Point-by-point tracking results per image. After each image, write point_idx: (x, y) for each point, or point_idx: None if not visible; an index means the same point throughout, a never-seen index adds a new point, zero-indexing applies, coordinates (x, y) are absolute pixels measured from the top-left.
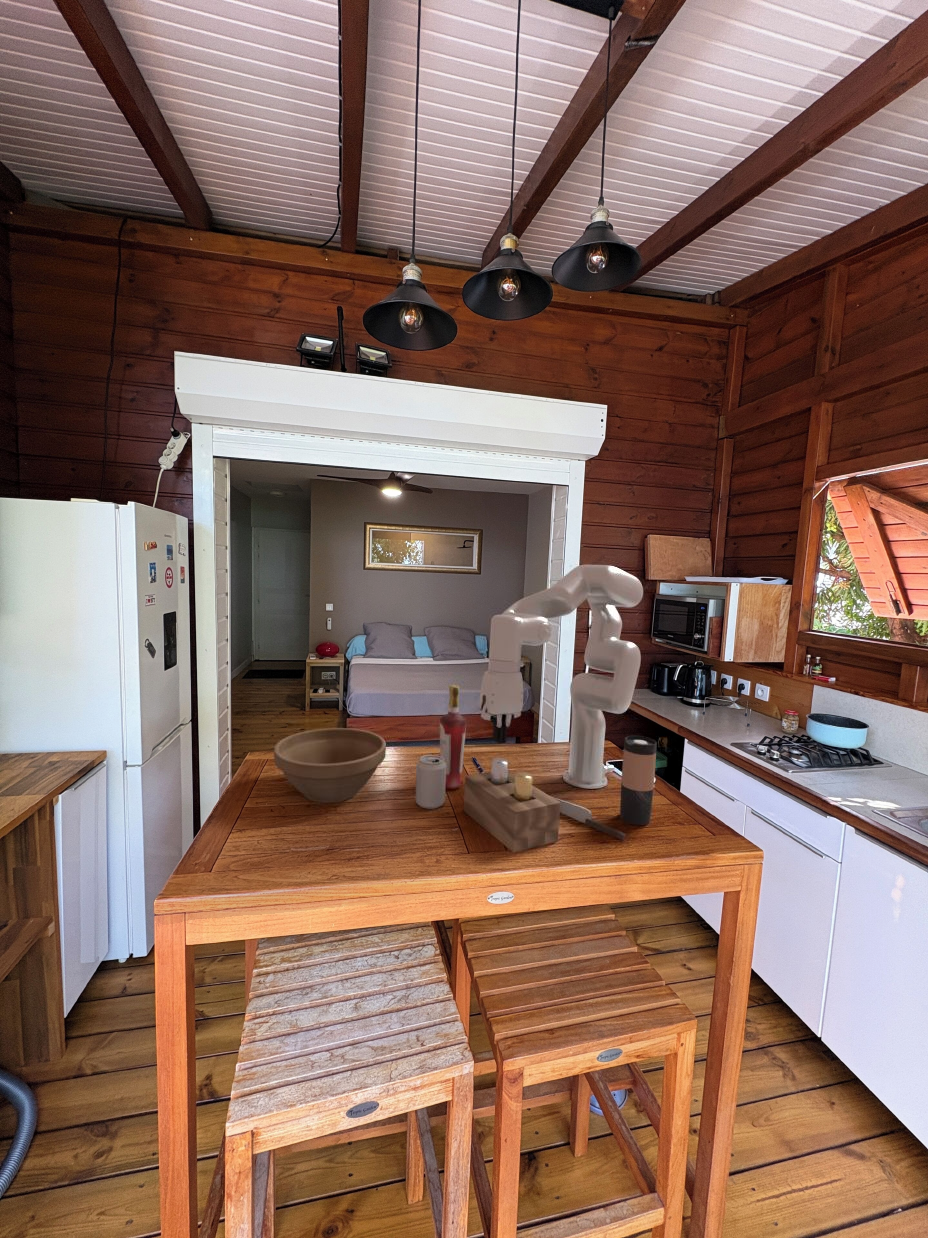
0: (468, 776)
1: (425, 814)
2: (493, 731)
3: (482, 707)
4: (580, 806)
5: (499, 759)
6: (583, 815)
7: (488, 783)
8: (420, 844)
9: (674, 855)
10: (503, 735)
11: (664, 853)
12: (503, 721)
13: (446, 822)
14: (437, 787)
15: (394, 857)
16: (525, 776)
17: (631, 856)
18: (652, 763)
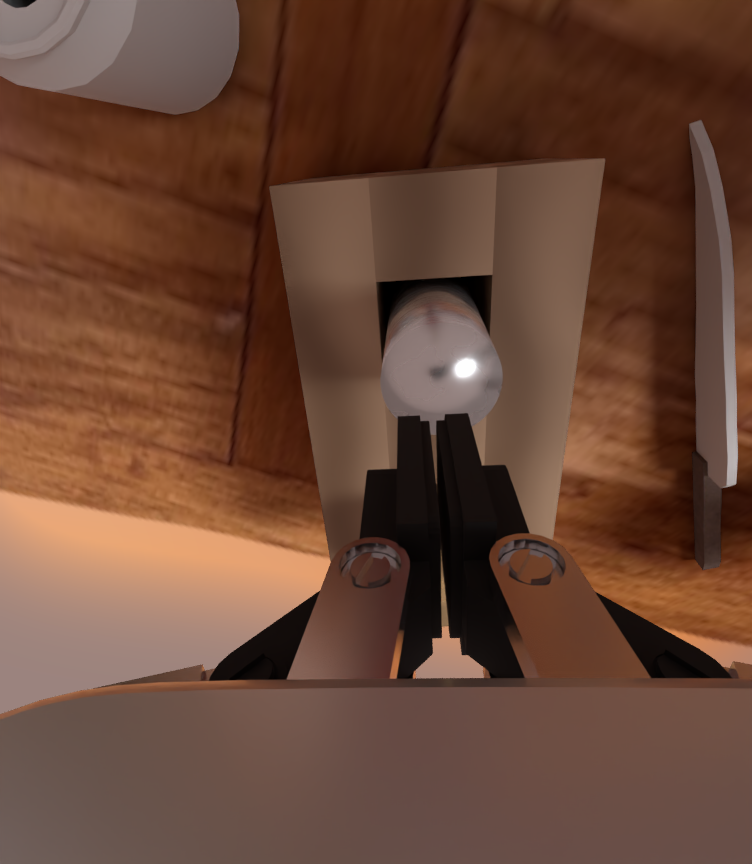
0: (284, 207)
1: (130, 147)
2: (364, 511)
3: (5, 762)
4: (734, 452)
5: (454, 357)
6: (712, 455)
7: (358, 349)
8: (92, 374)
9: (737, 640)
10: (443, 567)
11: (725, 628)
12: (499, 648)
13: (208, 258)
14: (132, 103)
15: (12, 412)
16: (442, 607)
17: (634, 611)
18: None
